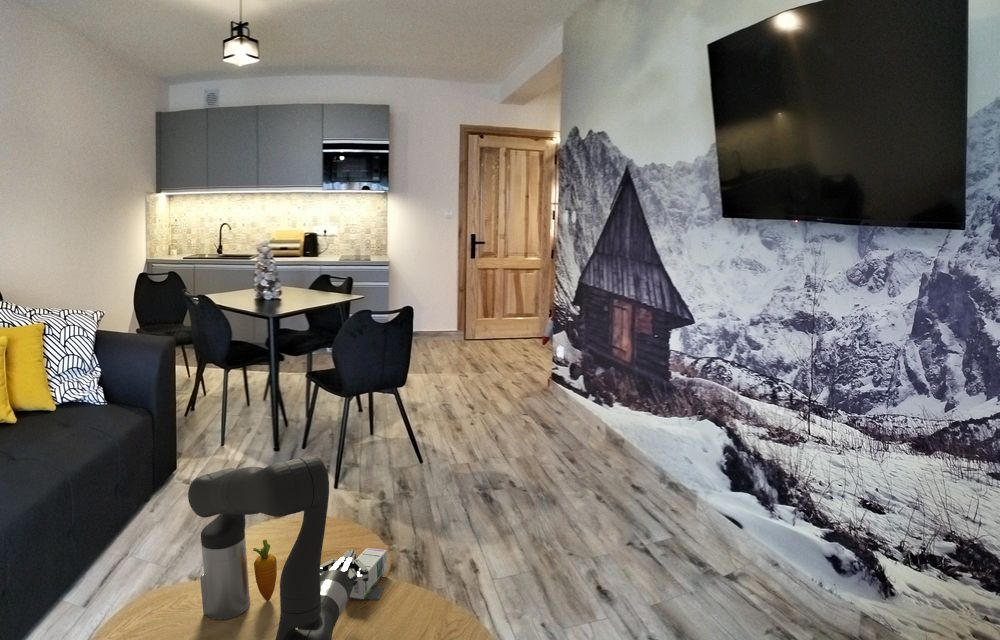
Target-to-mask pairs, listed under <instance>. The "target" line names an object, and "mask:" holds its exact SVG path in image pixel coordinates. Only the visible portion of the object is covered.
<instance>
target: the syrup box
mask: <svg viewBox="0 0 1000 640" xmlns="http://www.w3.org/2000/svg"><path fill="white" fill-rule="evenodd" d="M356 559H359V560H360V561H361V562H362V563H363V564H364V565H365V566H366V568H367V569H368V578H369V580H368V581H363V580H359V581H358V582H357V584H356V585H355V586H354V587H353V589H352V592H351V594H350V596H349V597H353V598H359V599H358V600H362V599H364V598H365V597H366V596H367V595H368V594H369V592H370V591H371V590H372V589H373V588H375V586H376V585H377V584H378V583H379V581H381V580H382V578H384V575H385V574H386V573H387V572H388V551H387V550H386V549H381V548H373V547H372V548H370V547H366V549H364V550H363V552H362V553H360V554H359V555H358V557H356ZM352 570H353V571H354V569H352ZM354 572H355V571H354ZM355 573H356V572H355ZM356 574H357V573H356Z"/></svg>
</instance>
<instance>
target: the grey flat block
mask: <svg viewBox="0 0 1000 640" xmlns="http://www.w3.org/2000/svg"><path fill="white" fill-rule="evenodd" d="M383 592H384V587H374V588H373V589H372V590H371V591H370V592H369V594H368V595H367V596H366V597H365V598H364V599H365V600H366V599H370V600H371V599H372V600H371V601H380V599H381V596H382V594H383ZM364 599H363V601H364ZM373 599H374V600H373ZM348 600H360V599H359V598H353V597H349V598H348ZM370 600H369V601H370ZM366 601H367V600H366Z"/></svg>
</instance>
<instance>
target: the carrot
mask: <svg viewBox="0 0 1000 640" xmlns="http://www.w3.org/2000/svg"><path fill="white" fill-rule="evenodd" d="M262 544H263V546H262V547H261V549H259V548H255V547H254V548H253V550H252V551H253V552H256V553H258V554H259V556H256V559H255V560H254V563H253V566H254V567H253V569H254V576H255V581H256V582H255V583H256V585H257V589H258V592H259V593H260V595H261V597H262V598H263V599H264V600H265V601H266V602H269V601H271V599H272V596H273V593H274V591H275V588H276V583H277V574H278V571H277V570H278V569H277V567H278V566H277V563H278V562H277V557H276V556H275V555H273V554H271V553H269V551H270V549H271V544H270V543H268V540H267V539H263V540H262Z"/></svg>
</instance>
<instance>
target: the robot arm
mask: <svg viewBox="0 0 1000 640" xmlns="http://www.w3.org/2000/svg"><path fill="white" fill-rule="evenodd" d="M327 469H328V468H327V467H326V465H325V463H324V461H323V460H322V459H321V458H320V457H318V456H317V455H308V456H306V455H305V456H301V457H298V458H297V457H296V458H293V459H290V460H285V461H279V462H276V463H273V464H272V463H271V464H270V465H267V466H265V467H260V466H247V467H241V468H237V469H236V468H232V467H230V468H226V469H221V470H219V471H218V470H217V471H214V472H210V473H206V474H203V475H200V476H198V477H195V479H194V480H192V482H191V483H190V484H189V487H188V490H187V491H188V492H187V499H188V503H189V506H190V508H191V510H192V511H193V513H194V514H195V515H197V516H198V517H200V518H203V519H204V518H211V517H213V516H217V515H218V516H217V517H216V518H214V519H213V520H211V521H210V522H209V523H208V524H207V525H205V526H204V528H202V530H201V532H200V543H201V555H202V556H201V557H202V564H203V565H202V566H203V567H202V569H203V573H201V575H200V579H199V580H200V589H201V590H200V591H201V603H202V613H203V616H208V617H209V618H211V619H214V620H228V619H233V618H236V617H238V616H240V615H241V614H243V613H245V612H246V611H247V610H248V609H249V607H250V605H251V598H250V597H251V593H250V584H249V583H250V582H249V569H248V568H249V567H248V557H247V556H248V555H247V545H246V531H245V530H246V516H250V515H252V516H253V515H257V514H263V515H267V516H270V517H277V518H280V517H288V516H290V515H294V514H297V513H298V514H299V513H302V512H303V519H302V523H301V526H300V530H299V532H298V535H297V538H296V540H295V542H294V544H293V546H292V549H291V551H290V552H289V554H288V556H287V559H286V560H285V562H284V565H283V567H282V571H281V574H280V579H279V580H280V581H279V599H280V600H279V603H280V605H279V606H280V614H279V621H278V628H277V633H276V636H275V638H274V640H332V639H333V633H334V628H335V626H336V624H337V622H338V619H339V618H340V617H341V614H343V612H344V610H345V608H346V607H347V603H348V601H349V599H348V598H349V596H350V594H351V592H352V589H353V587H354V586H355V585H356V584H357V582H358V581H359V580H363V581H368V580H369V578H368V569H367V568H366V566H365V565H364V564H363V563H362V562H361V561H360V560H359V559H357V553H356V552H355V549H347V551H345V552H343V554H342V555H341V557H340V558H339V559H337V558H331V559H329V560H327V561H326V562H323V563H321V562H322V552H323V544H324V538H325V533H326V532H325V531H326V523H327V522H326V521H327V515H328V508H329V497H330V480H329V473H328V470H327ZM330 566H331V567H330ZM352 569H354V571H355V572H356V573H357V574H356V573H355V572H354V571H353V570H352Z"/></svg>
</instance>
